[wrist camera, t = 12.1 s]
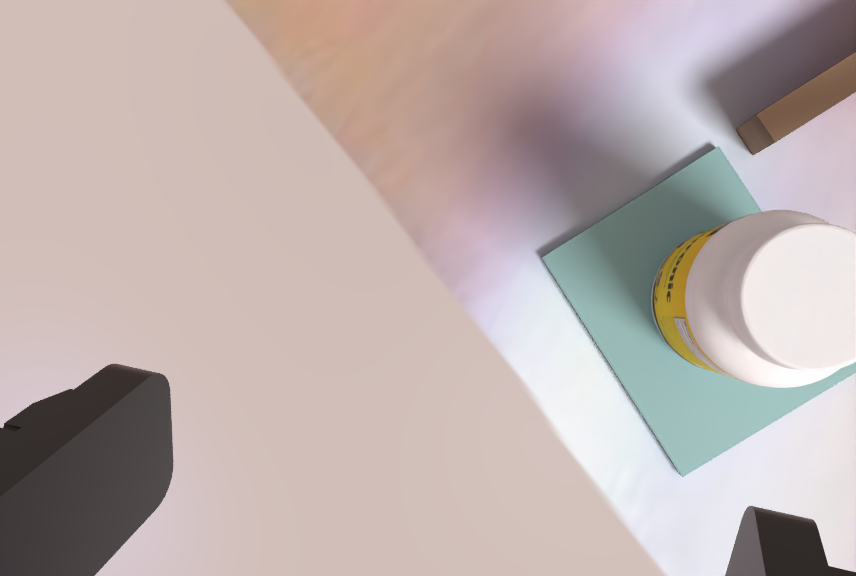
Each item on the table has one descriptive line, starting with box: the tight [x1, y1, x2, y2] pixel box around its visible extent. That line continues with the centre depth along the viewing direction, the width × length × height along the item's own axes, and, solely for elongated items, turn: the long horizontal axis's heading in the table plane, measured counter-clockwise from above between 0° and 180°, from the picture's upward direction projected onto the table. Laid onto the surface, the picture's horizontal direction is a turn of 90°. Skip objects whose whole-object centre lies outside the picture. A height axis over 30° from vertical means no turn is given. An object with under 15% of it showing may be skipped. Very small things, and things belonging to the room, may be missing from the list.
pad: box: [542, 146, 856, 477], centre depth 31 cm, size 10×8×1 cm
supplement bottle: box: [651, 210, 856, 388], centre depth 26 cm, size 5×5×10 cm
